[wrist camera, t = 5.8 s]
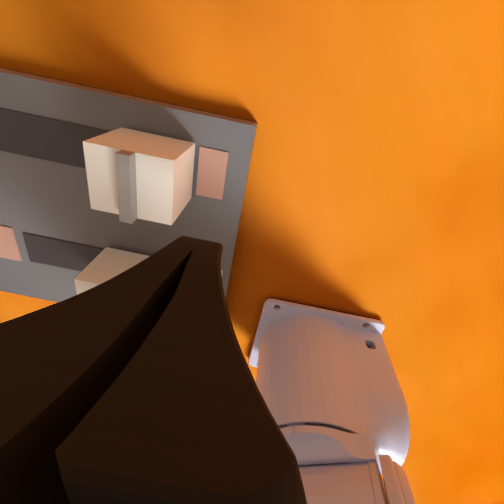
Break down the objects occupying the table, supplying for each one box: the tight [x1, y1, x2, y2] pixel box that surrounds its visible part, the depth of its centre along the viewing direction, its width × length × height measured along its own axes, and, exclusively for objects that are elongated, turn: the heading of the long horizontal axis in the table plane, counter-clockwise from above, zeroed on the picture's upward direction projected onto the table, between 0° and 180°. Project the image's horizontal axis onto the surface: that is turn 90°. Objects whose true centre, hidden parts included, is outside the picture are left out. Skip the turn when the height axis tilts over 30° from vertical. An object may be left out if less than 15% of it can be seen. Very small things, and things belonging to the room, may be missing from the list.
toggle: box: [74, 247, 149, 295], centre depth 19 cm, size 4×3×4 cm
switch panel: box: [0, 68, 257, 302], centre depth 20 cm, size 18×16×1 cm
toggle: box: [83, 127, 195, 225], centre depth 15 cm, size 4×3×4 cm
